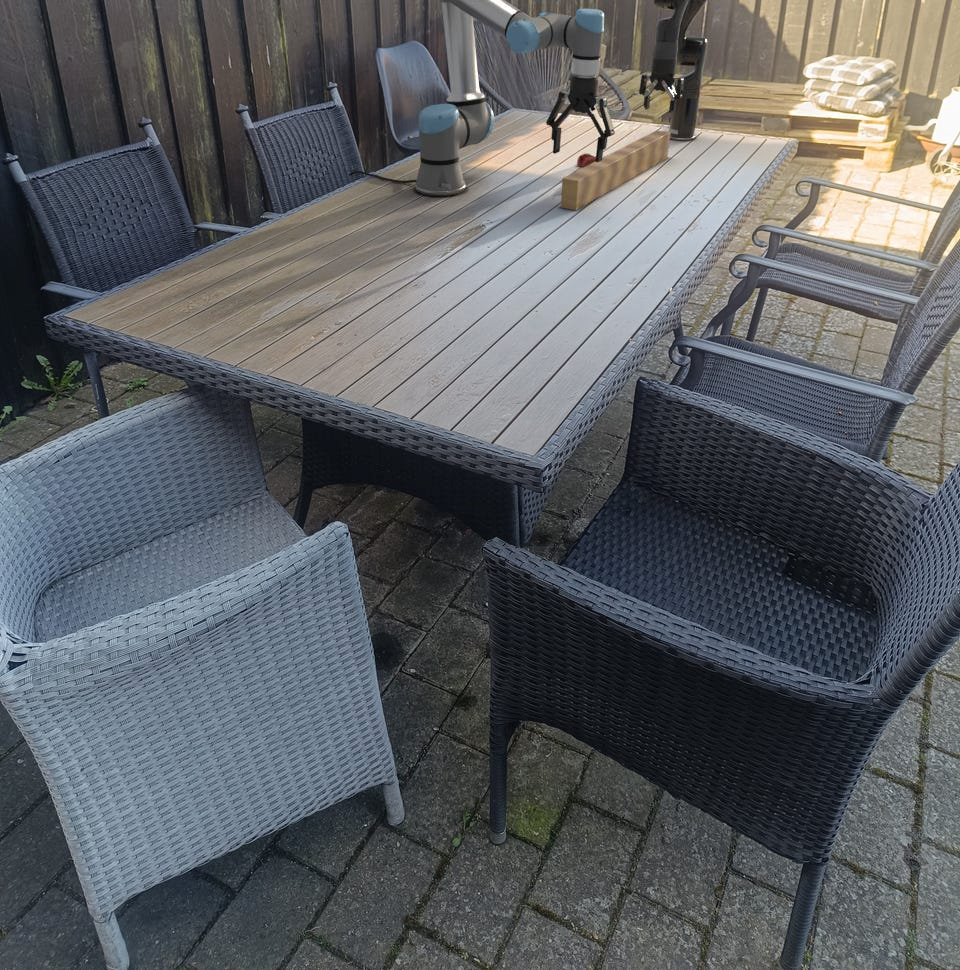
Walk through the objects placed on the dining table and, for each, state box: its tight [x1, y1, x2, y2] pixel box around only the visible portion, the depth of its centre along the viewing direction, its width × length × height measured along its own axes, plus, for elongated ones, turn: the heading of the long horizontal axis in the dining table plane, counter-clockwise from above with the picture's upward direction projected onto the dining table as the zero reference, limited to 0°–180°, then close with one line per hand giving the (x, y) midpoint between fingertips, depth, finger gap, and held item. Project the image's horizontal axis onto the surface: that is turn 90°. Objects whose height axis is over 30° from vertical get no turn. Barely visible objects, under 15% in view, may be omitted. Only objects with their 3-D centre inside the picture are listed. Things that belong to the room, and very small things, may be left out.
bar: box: [560, 129, 671, 211], centre depth 264 cm, size 68×5×8 cm, turn 147°
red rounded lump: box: [576, 152, 596, 169], centre depth 277 cm, size 6×4×8 cm
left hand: (577, 156), depth 239 cm, fingers open, 13 cm apart
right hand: (658, 110), depth 276 cm, fingers open, 8 cm apart
